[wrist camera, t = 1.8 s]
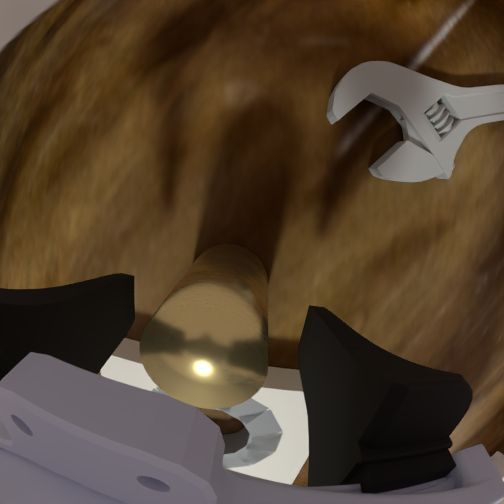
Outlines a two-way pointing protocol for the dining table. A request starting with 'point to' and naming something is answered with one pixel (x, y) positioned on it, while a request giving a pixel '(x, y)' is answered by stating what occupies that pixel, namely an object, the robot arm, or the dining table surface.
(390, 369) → the robot arm
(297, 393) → the board
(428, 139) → the adjustable wrench
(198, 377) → the brass cylinder
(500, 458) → the napkin holder
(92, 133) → the dining table surface
